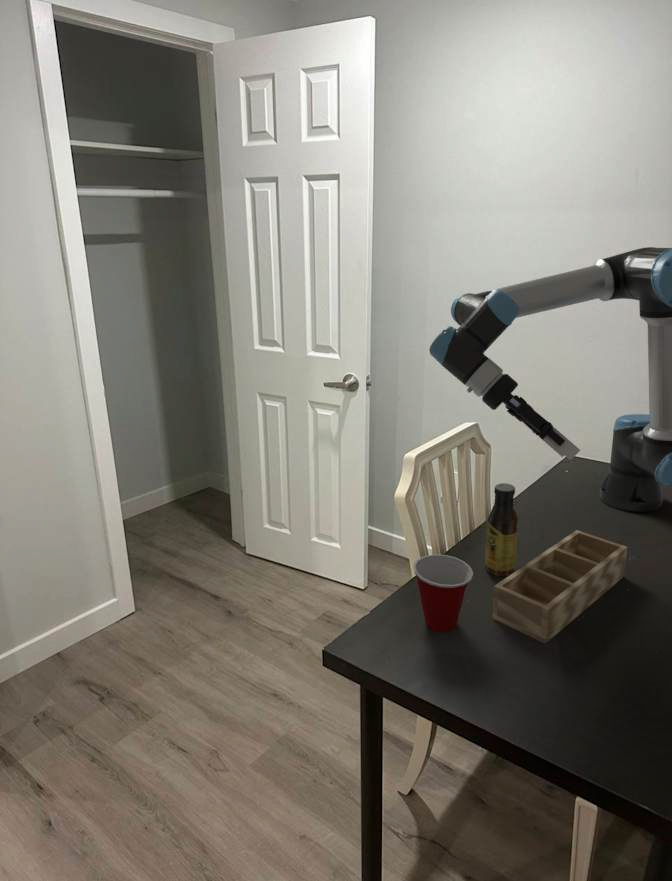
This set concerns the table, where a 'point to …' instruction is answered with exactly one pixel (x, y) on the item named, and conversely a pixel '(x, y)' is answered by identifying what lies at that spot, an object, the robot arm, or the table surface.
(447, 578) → the plastic cup
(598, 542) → the wooden compartment box
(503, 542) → the sauce bottle
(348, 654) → the table surface
